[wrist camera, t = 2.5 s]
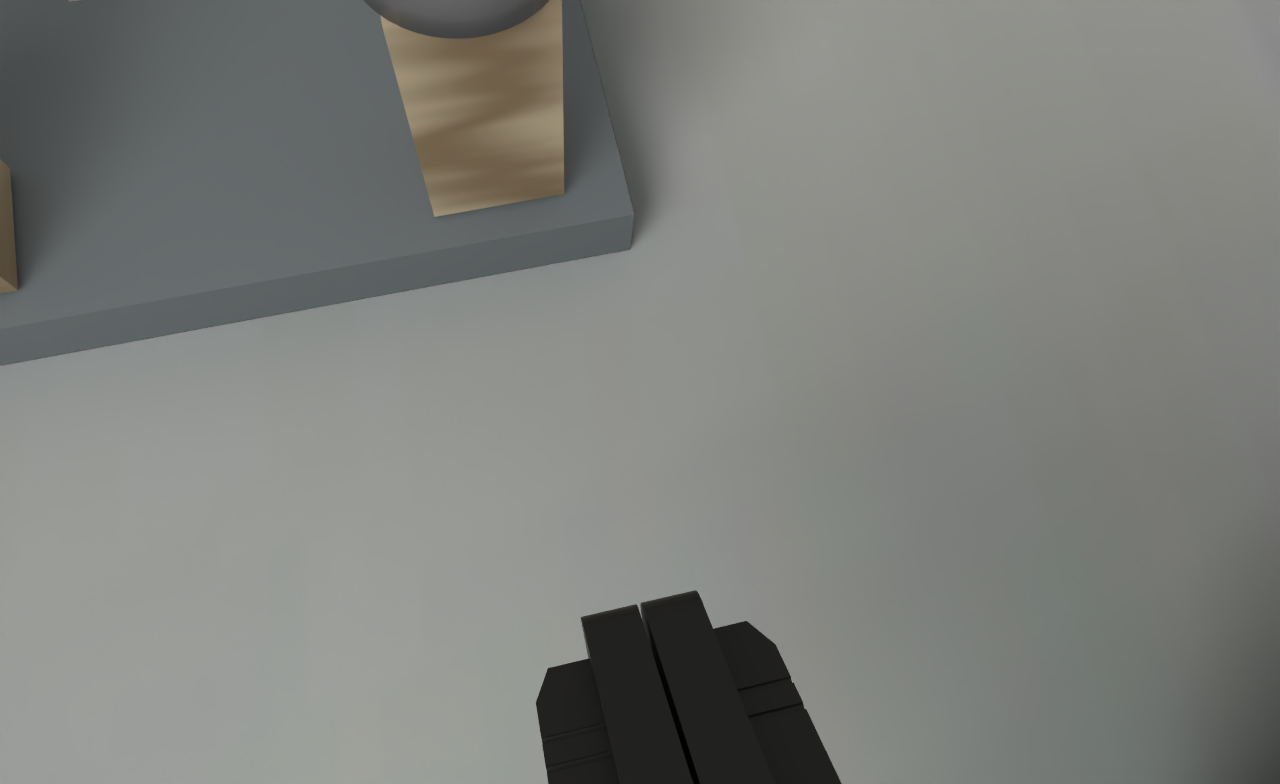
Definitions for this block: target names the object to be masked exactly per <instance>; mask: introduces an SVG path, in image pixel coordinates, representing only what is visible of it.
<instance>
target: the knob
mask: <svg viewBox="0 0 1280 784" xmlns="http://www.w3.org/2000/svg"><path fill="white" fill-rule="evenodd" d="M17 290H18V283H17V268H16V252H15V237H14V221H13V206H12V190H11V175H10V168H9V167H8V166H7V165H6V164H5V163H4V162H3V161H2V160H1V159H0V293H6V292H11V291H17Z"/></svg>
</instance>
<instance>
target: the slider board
mask: <svg viewBox="0 0 1280 784" xmlns="http://www.w3.org/2000/svg"><path fill="white" fill-rule="evenodd" d="M562 43H563V127H564V194H562V195H557V196H551V197H545V198H540V199H534V200H528V201H522V202H517V203H511V204H505V205H500V206H494V207H488V208H483V209H477V210H471V211H466V212H460V213H454V214H449V215H443V216H437V217H434V214H433V210H432V206H431V203H430V199H429V195H428V192H427V188H426V184H425V181H424V177H423V174H422V170H421V166H420V163H419V159H418V155H417V152H416V148H415V144H414V141H413V137H412V133H411V130H410V126H409V122H408V119H407V115H406V112H405V108H404V104H403V101H402V97H401V93H400V90H399V86H398V82H397V79H396V75H395V71H394V68H393V64H392V60H391V57H390V53H389V49H388V46H387V42H386V39H385V35H384V31H383V27H382V22H381V17H380V15H379V14H378V13H376V12H375V11H374V10H373V9H372V8H371V7H370V6H369V5H367V4H366V3H365V1H364V0H0V159H1V160H2V161H3V162H4V163H5V164H6V165H7V166H8V167H9V168H10V175H11V190H12V206H13V221H14V237H15V252H16V268H17V283H18V290H17V291H11V292H6V293H0V366H1V365H6V364H12V363H17V362H22V361H28V360H33V359H39V358H44V357H50V356H55V355H60V354H66V353H71V352H77V351H82V350H87V349H93V348H98V347H104V346H109V345H115V344H120V343H125V342H131V341H136V340H142V339H147V338H152V337H158V336H163V335H169V334H174V333H180V332H185V331H190V330H196V329H201V328H207V327H212V326H217V325H223V324H228V323H234V322H239V321H245V320H250V319H255V318H261V317H266V316H272V315H277V314H282V313H288V312H293V311H299V310H304V309H310V308H315V307H320V306H326V305H331V304H337V303H342V302H348V301H353V300H358V299H364V298H369V297H375V296H380V295H385V294H391V293H396V292H402V291H407V290H413V289H418V288H423V287H429V286H434V285H440V284H445V283H450V282H456V281H461V280H467V279H472V278H478V277H483V276H488V275H494V274H499V273H505V272H510V271H515V270H521V269H526V268H532V267H537V266H543V265H548V264H553V263H559V262H564V261H570V260H575V259H580V258H586V257H591V256H597V255H602V254H608V253H613V252H618V251H624V250H629V249H630V246H631V238H632V231H633V223H634V215H635V214H634V210H633V206H632V203H631V199H630V195H629V191H628V187H627V183H626V179H625V175H624V171H623V167H622V163H621V159H620V155H619V151H618V147H617V143H616V139H615V135H614V131H613V127H612V123H611V120H610V116H609V112H608V108H607V104H606V100H605V96H604V92H603V88H602V84H601V80H600V76H599V72H598V68H597V64H596V60H595V56H594V52H593V48H592V44H591V40H590V37H589V33H588V29H587V25H586V21H585V17H584V13H583V9H582V5H581V1H580V0H562Z"/></svg>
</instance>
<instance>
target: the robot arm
mask: <svg viewBox="0 0 1280 784" xmlns="http://www.w3.org/2000/svg"><path fill="white" fill-rule="evenodd" d="M641 615H642V618H641ZM641 615H640V612H639V609H638V606H637V605H636V604H635V605H631V606H627V607H623V608H618V609H614V610H610V611H605V612H601V613H597V614H592V615H588V616H584V617H581V622H582V627H583V632H584V637H585V642H586V648H587V653H588V658H589V659H585V660H581V661H577V662H573V663H568V664H564V665H560V666H556V667H552V668H548V670H547V673H546V676H545V679H544V681H543V684H542V687H541V690H540V693H539V696H538V698H537V701H536V706H537V712H538V719H539V725H540V732H541V738H542V743H543V751H544V757H545V764H546V769H547V777H548V783H549V784H841V782H840V780H839V778H838V775H837V773H836V771H835V769H834V767H833V765H832V763H831V761H830V759H829V756H828V754H827V752H826V750H825V748H824V746H823V744H822V742H821V740H820V737H819V735H818V733H817V731H816V729H815V727H814V725H813V723H812V721H811V718H810V716H809V714H808V712H807V710H806V709H804V706H803V702H802V699H801V697H800V695H799V693H798V691H797V689H796V687H795V685H794V683H792V681H791V676H790V674H789V672H788V670H787V668H786V666H785V664H784V661H783V659H782V657H781V655H780V653H779V651H778V649H777V647H776V645H775V644H774V643H773V642H772V641H770V640H769V639H768V638H767V637H765V636H764V635H763V634H762V633H761V632H759V631H758V630H757V629H756V628H754V627H753V626H752V625H751V624H750V623H748V622H747V621H745V622H740V623H736V624H732V625H728V626H723V627H719V628H715V629H713V628H712V625H711V623H710V620H709V618H708V615H707V613H706V610H705V608H704V605H703V603H702V600H701V598H700V596H699V594H698V592H697V591H696V590H695V591H690V592H686V593H682V594H677V595H673V596H669V597H665V598H660V599H656V600H652V601H647V602H643V603H641Z"/></svg>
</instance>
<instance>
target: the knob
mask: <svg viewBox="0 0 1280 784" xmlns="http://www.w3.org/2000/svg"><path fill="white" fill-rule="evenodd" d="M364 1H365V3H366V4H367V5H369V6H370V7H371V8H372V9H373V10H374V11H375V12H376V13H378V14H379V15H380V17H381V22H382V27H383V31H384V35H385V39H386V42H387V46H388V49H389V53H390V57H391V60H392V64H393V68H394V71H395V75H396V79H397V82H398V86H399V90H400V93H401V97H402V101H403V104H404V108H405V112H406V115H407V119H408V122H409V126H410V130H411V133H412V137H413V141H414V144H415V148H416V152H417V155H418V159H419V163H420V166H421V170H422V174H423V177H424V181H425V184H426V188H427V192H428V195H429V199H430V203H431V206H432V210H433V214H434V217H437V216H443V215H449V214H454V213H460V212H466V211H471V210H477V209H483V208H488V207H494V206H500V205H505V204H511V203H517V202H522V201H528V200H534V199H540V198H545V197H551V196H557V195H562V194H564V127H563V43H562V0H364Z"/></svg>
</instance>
